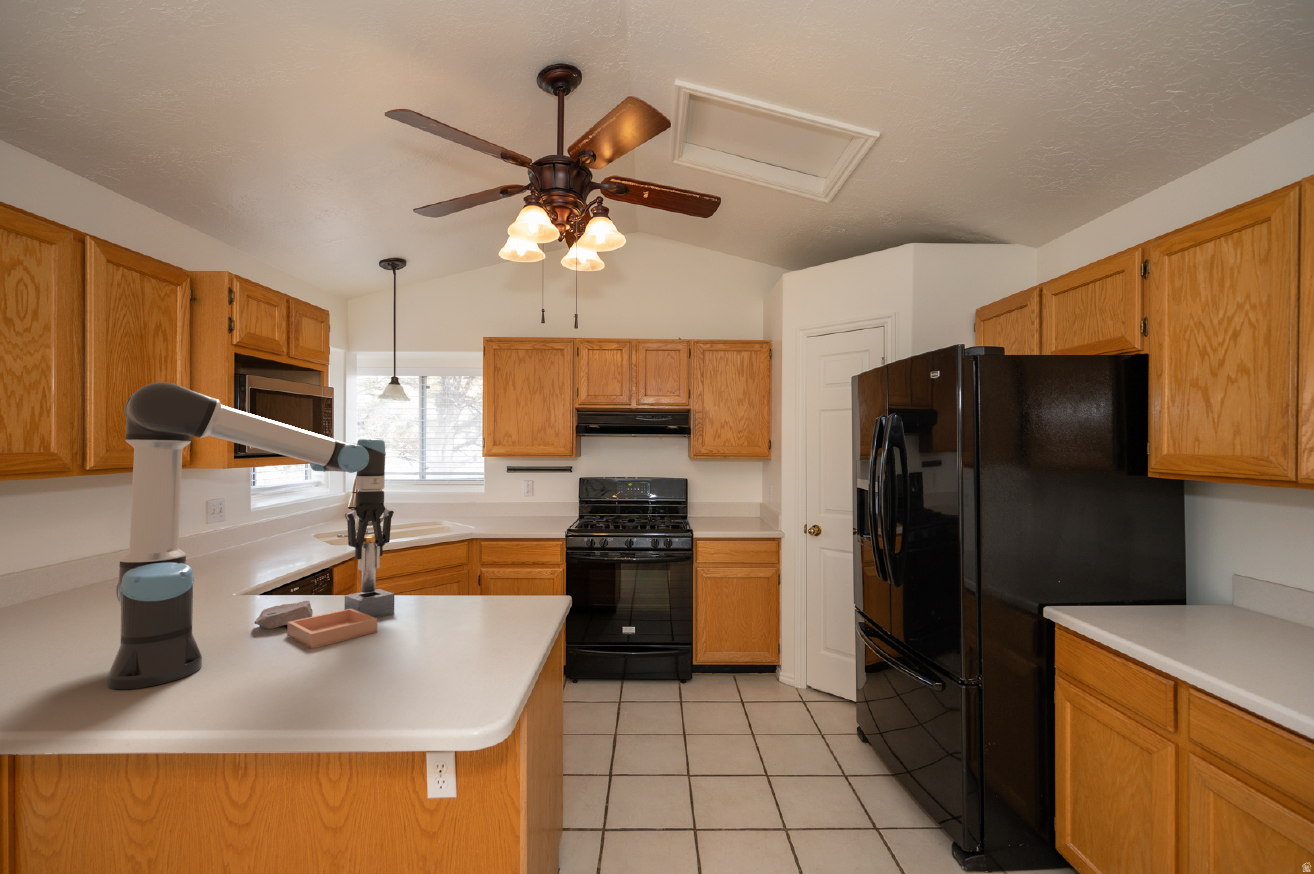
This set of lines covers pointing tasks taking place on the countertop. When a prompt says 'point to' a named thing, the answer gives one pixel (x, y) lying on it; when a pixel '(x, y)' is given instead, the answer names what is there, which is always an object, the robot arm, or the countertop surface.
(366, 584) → the pin
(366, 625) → the tray
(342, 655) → the countertop surface
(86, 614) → the countertop surface
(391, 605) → the block
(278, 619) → the decorative stone
